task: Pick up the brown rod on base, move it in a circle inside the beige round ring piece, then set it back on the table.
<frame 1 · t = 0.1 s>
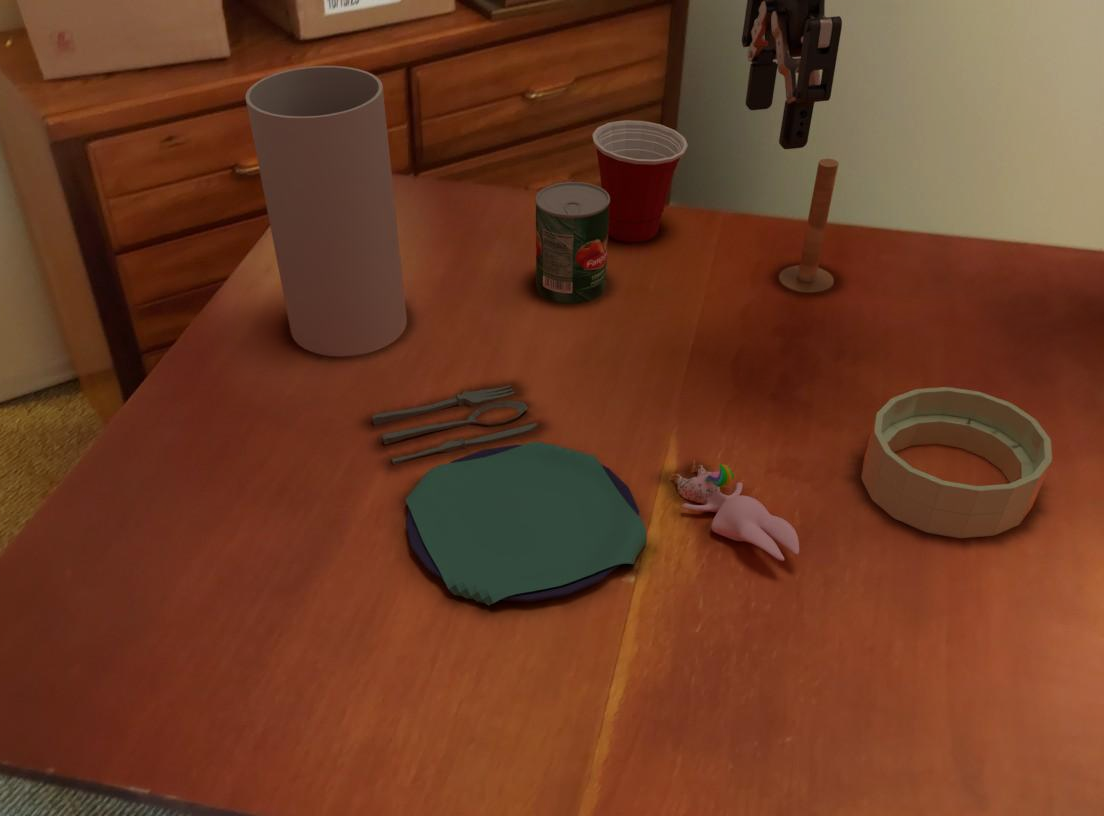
hand: (774, 126, 91), 24 cm above the table, tool pointing down, fingers open, 8 cm apart
canned tomato: (570, 293, 120), on the table
brown rod on base: (804, 286, 119), on the table
cylinder vase: (350, 332, 115), on the table
beige round ring piece: (942, 490, 94), on the table
plastic cup: (633, 238, 128), on the table
cutlery set: (502, 499, 95), on the table
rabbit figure: (729, 530, 91), on the table
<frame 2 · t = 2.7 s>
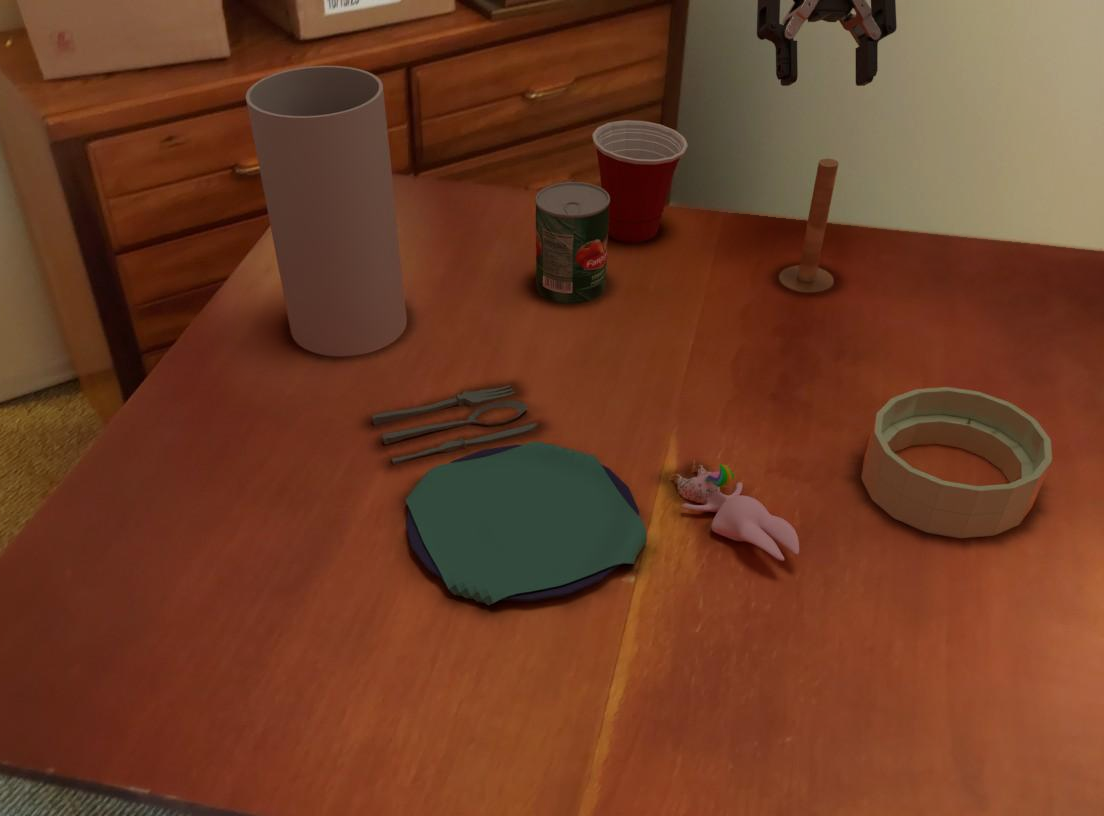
hand: (827, 83, 108), 20 cm above the table, tool tilted 35°, fingers open, 8 cm apart
nothing on the table moved.
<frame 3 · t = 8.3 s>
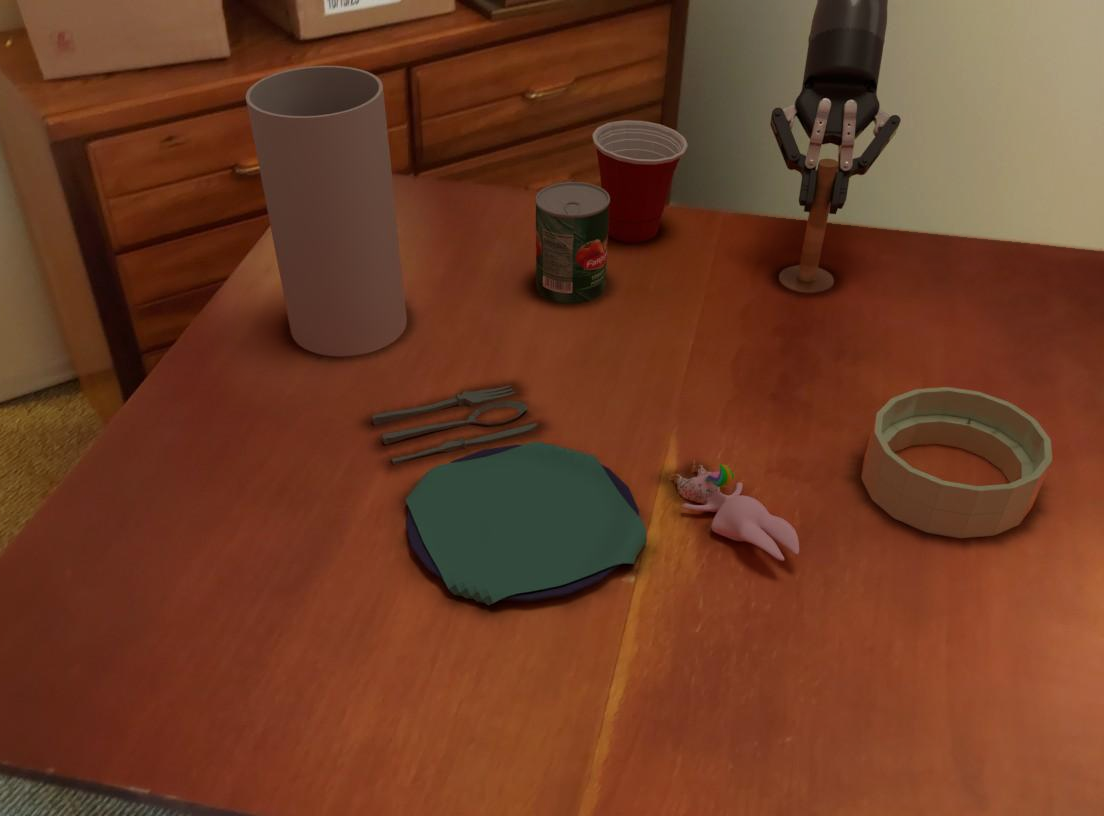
hand: (820, 209, 111), 10 cm above the table, tool tilted 45°, fingers closed on brown rod on base
brown rod on base: (804, 286, 119), on the table, touching gripper
everything else where it was.
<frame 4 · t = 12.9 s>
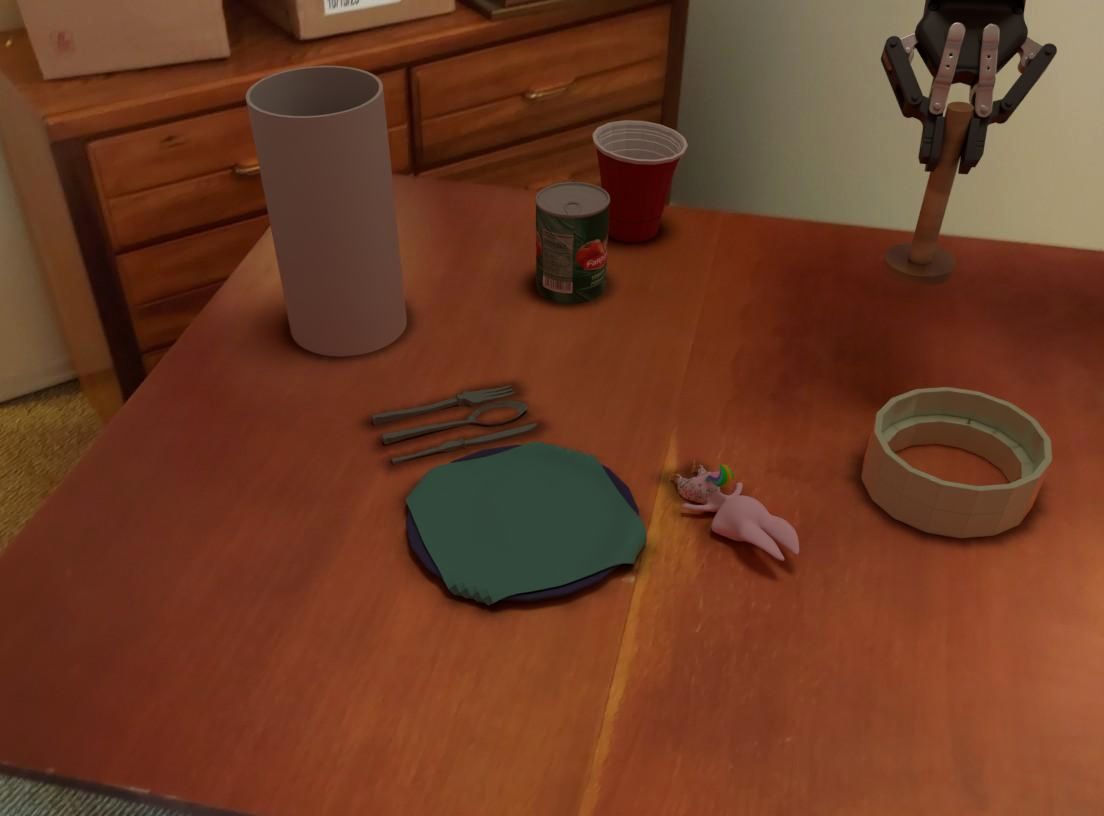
hand: (948, 168, 85), 24 cm above the table, tool tilted 45°, fingers closed on brown rod on base
brown rod on base: (917, 269, 94), point 14 cm above the table, touching gripper
everything else where it was.
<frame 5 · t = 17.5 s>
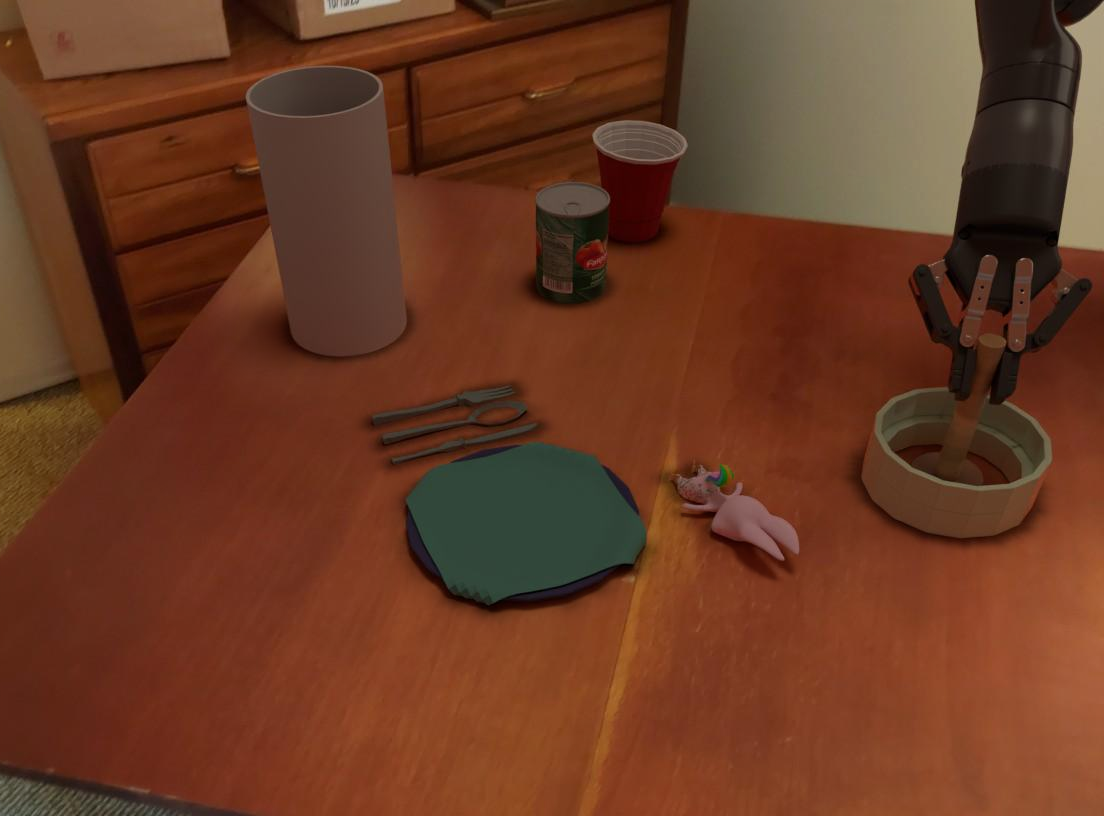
hand: (979, 400, 83), 12 cm above the table, tool tilted 45°, fingers closed on brown rod on base
brown rod on base: (943, 482, 91), point 2 cm above the table, touching gripper
everything else where it was.
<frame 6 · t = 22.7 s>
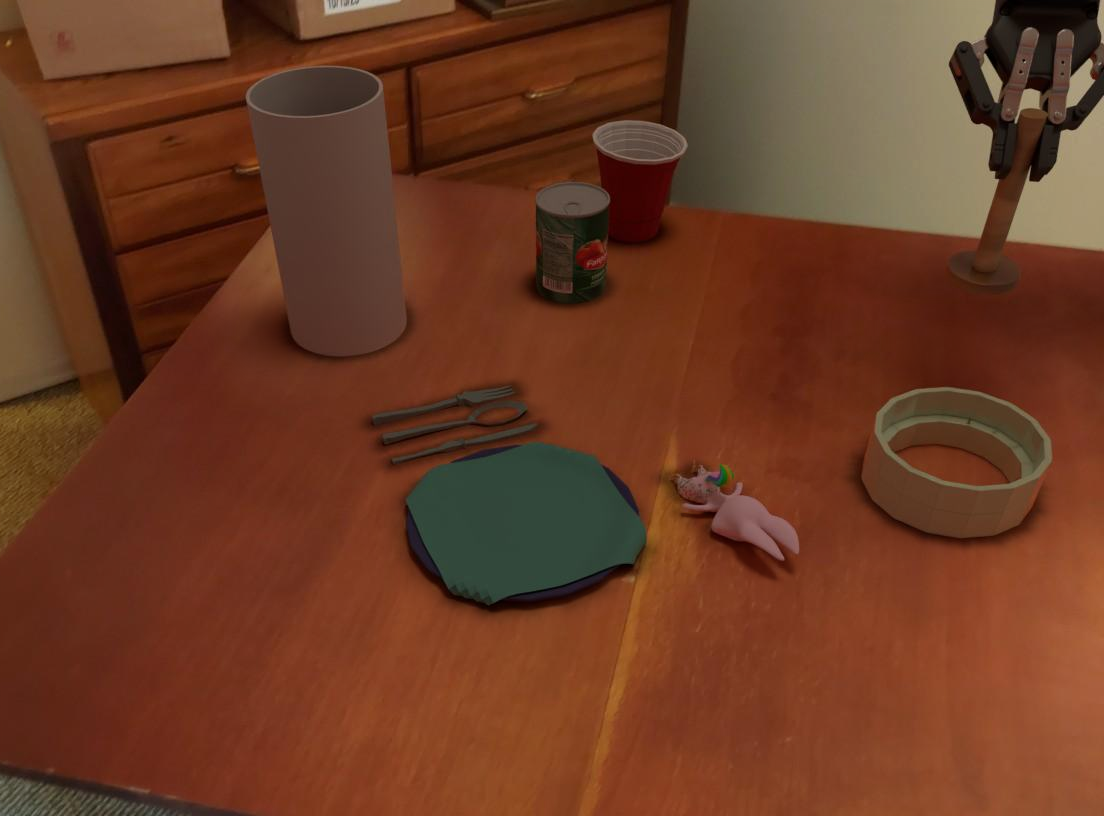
hand: (1020, 176, 84), 24 cm above the table, tool tilted 45°, fingers closed on brown rod on base
brown rod on base: (980, 277, 92), point 14 cm above the table, touching gripper
everything else where it was.
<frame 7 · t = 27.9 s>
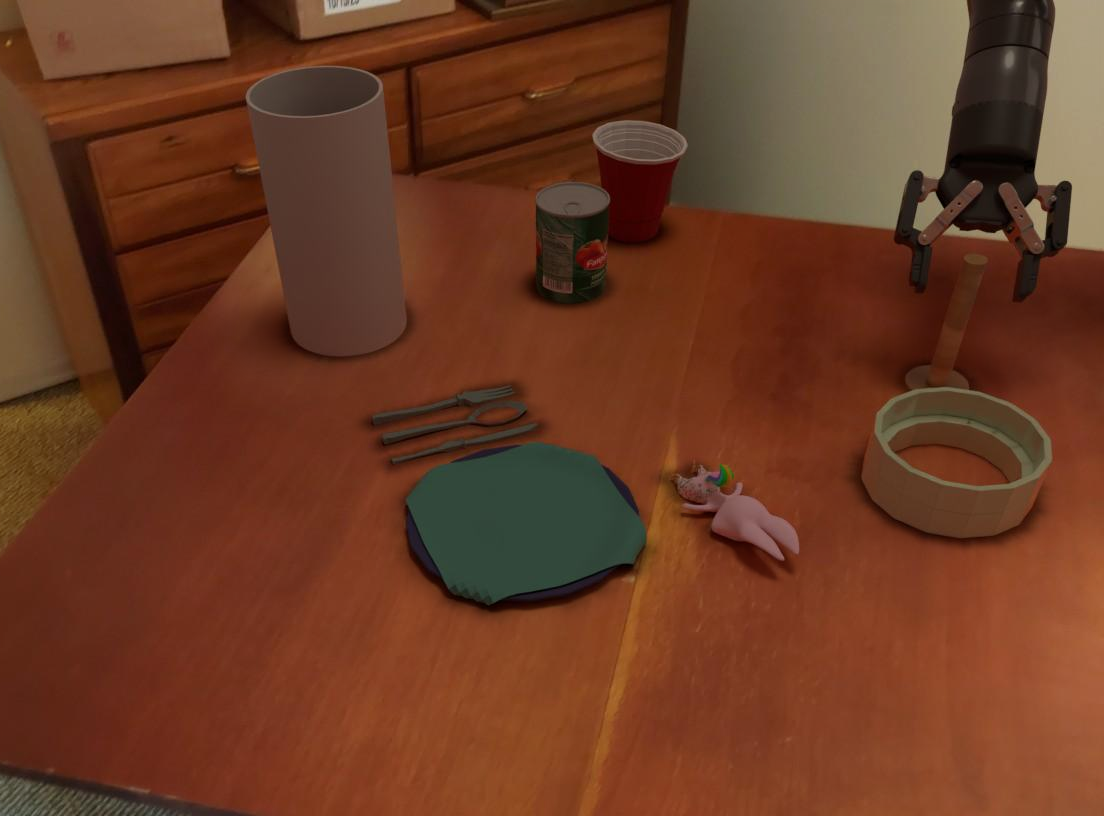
hand: (969, 295, 96), 11 cm above the table, tool tilted 45°, fingers open, 8 cm apart
brown rod on base: (934, 390, 104), on the table
everything else where it was.
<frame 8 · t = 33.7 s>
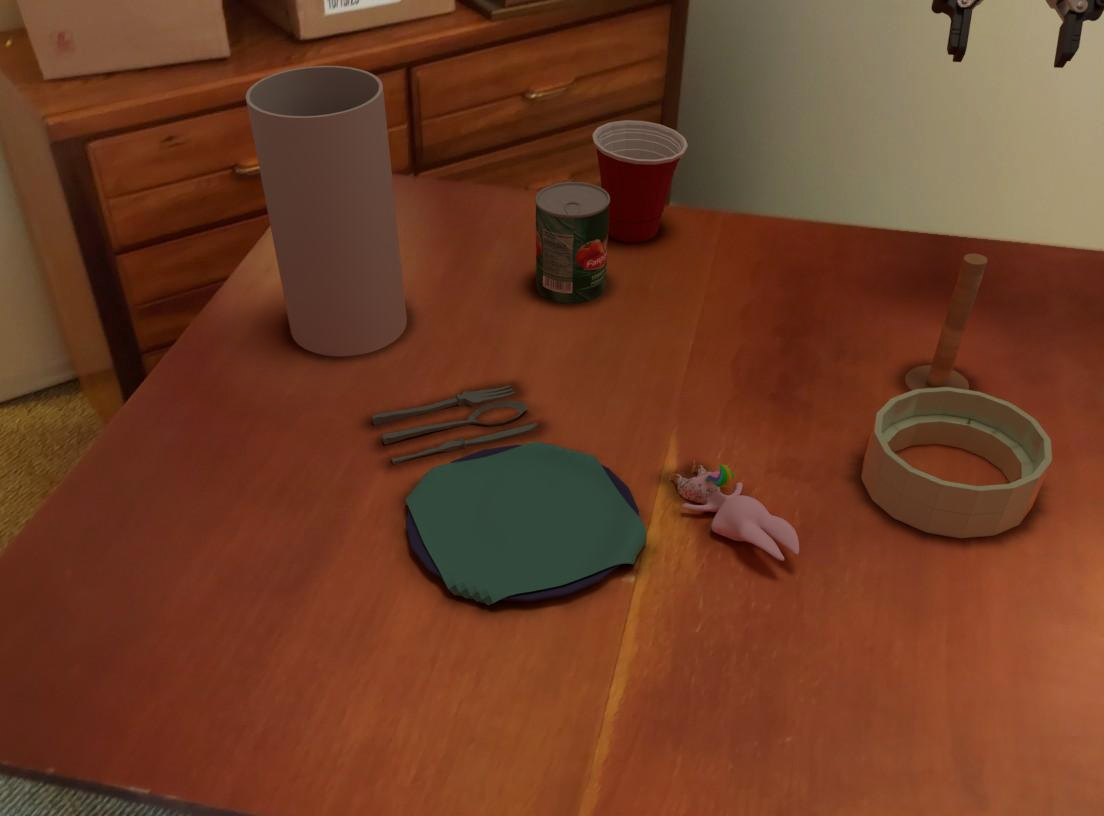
hand: (1010, 60, 93), 27 cm above the table, tool tilted 45°, fingers open, 8 cm apart
nothing on the table moved.
at the end: brown rod on base inside the target area on the table beside the beige round ring piece (0.1 cm from its centre), on the table; brown rod on base tilted 0°; brown rod on base moved 22.3 cm from its start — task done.
